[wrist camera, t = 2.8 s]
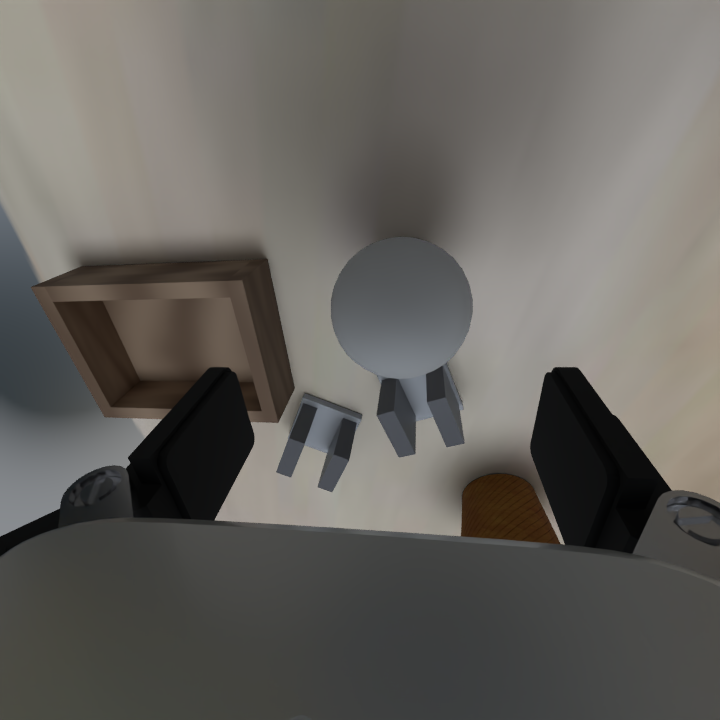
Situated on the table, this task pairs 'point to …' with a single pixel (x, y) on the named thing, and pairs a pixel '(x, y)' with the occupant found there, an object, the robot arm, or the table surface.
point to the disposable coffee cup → (504, 511)
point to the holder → (171, 333)
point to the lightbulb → (401, 307)
